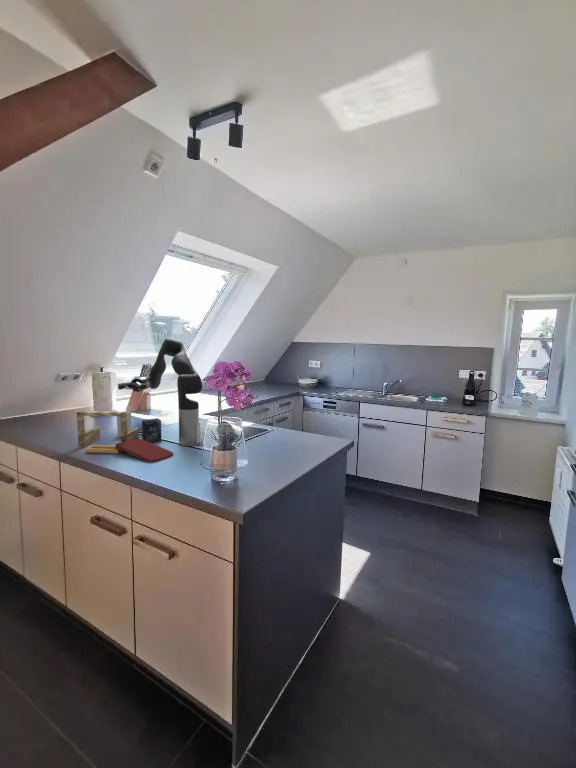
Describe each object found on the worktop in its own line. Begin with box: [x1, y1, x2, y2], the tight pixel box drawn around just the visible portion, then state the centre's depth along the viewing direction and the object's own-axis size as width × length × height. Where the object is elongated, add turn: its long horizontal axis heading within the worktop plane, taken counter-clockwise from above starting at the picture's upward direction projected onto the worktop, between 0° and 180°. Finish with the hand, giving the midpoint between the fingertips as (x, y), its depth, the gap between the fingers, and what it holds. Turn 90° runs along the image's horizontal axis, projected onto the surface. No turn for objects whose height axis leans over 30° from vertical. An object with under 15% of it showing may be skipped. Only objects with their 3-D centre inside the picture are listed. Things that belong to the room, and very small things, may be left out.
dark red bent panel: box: [114, 438, 174, 463], centre depth 161 cm, size 12×5×26 cm
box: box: [141, 418, 162, 443], centre depth 180 cm, size 8×6×11 cm
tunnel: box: [76, 410, 140, 449], centre depth 174 cm, size 21×16×16 cm
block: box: [116, 410, 132, 438], centre depth 189 cm, size 5×5×12 cm
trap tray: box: [85, 444, 122, 455], centre depth 163 cm, size 14×6×2 cm, turn 89°
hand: (127, 387), depth 192 cm, fingers open, 8 cm apart
